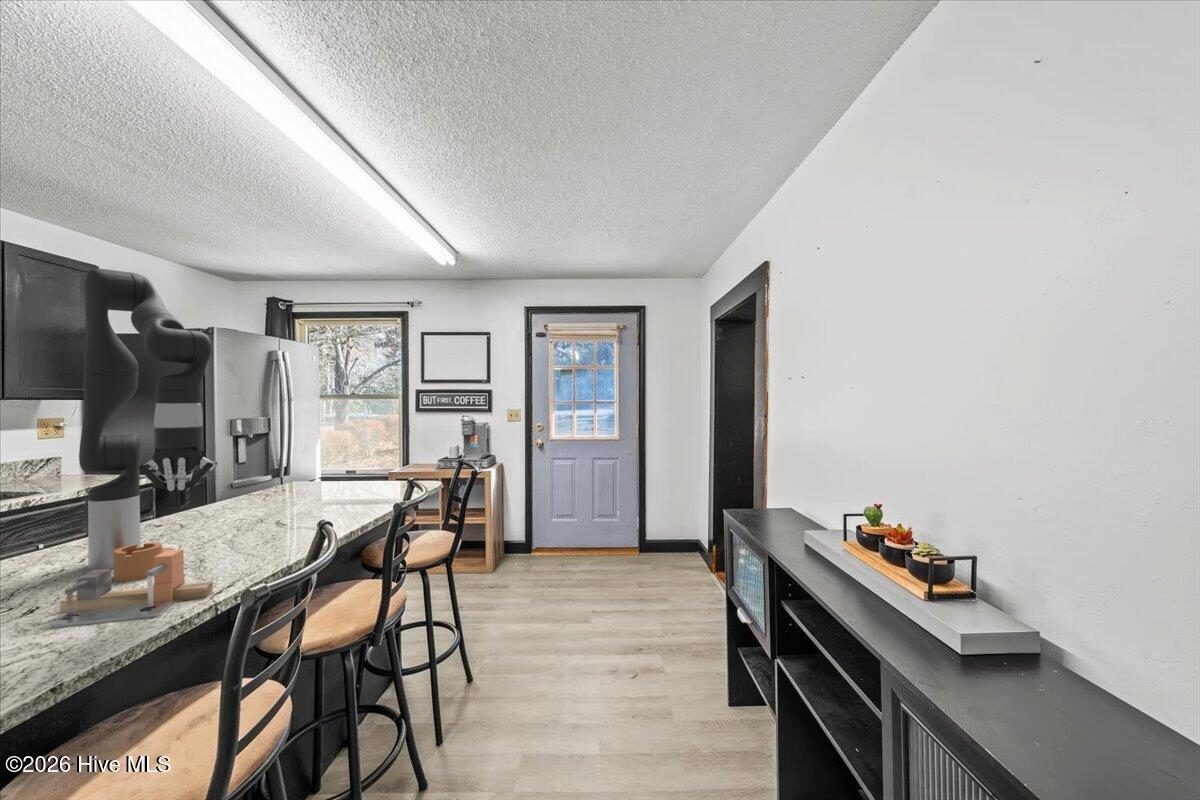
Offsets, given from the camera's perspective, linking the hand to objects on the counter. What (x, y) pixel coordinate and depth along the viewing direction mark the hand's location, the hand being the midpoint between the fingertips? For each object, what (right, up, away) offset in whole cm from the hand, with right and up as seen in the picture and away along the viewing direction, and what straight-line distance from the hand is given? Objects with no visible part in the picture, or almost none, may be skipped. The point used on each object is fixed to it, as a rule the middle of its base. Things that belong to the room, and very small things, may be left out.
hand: (179, 507), depth 99 cm
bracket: (-25, -20, +19) cm, 38 cm away
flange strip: (-6, -20, -7) cm, 22 cm away
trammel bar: (-7, -20, -2) cm, 21 cm away
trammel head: (-3, -20, -1) cm, 20 cm away
